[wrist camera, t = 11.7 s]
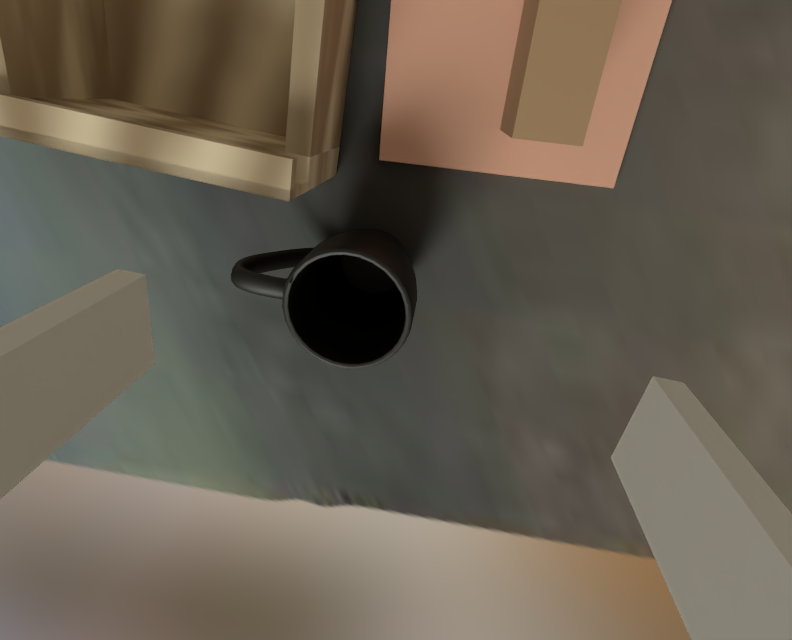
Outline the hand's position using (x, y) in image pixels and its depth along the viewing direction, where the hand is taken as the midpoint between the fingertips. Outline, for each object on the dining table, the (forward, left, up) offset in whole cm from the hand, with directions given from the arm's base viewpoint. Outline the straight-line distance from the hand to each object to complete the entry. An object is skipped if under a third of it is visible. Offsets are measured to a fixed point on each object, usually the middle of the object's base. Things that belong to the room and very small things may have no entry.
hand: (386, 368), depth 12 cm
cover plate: (+3, +9, -24) cm, 26 cm away
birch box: (-17, +8, -24) cm, 30 cm away
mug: (-6, -6, -24) cm, 25 cm away
